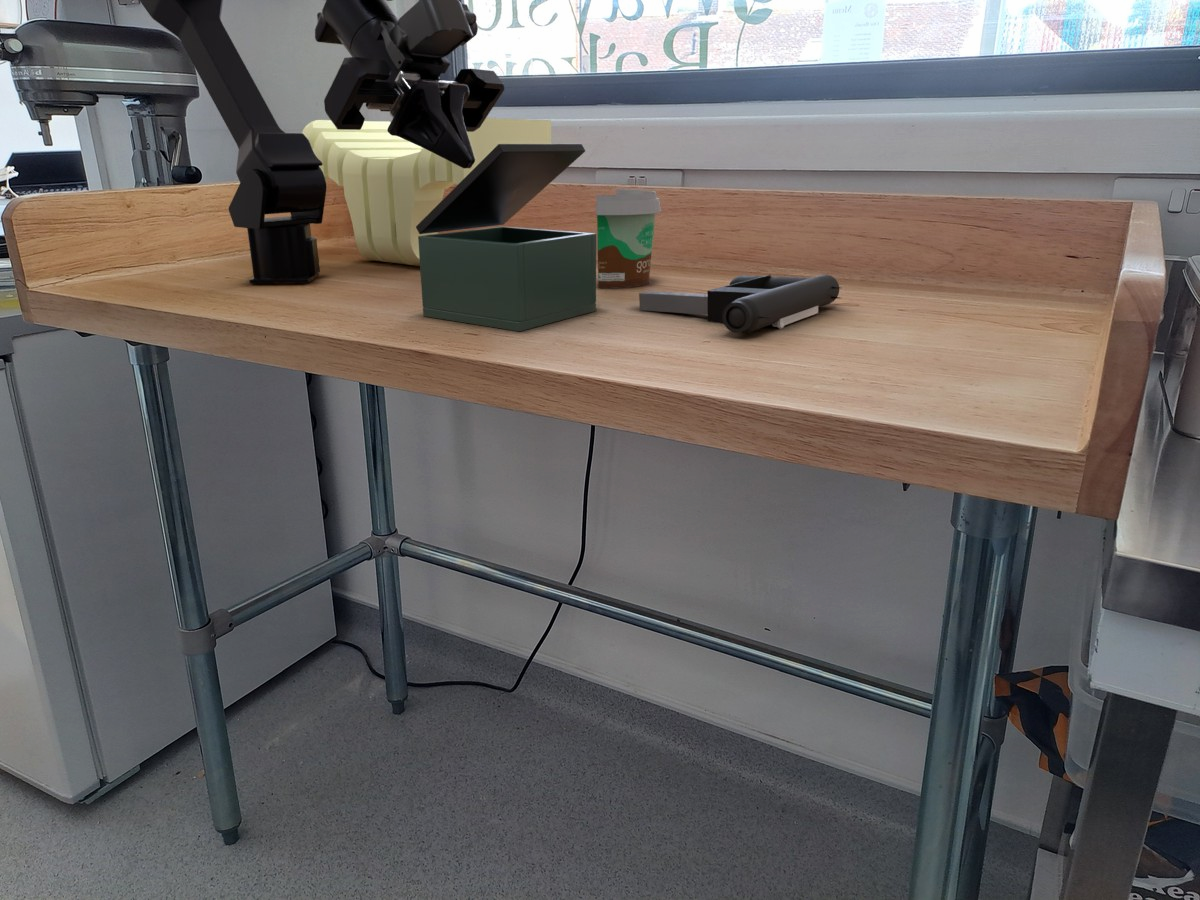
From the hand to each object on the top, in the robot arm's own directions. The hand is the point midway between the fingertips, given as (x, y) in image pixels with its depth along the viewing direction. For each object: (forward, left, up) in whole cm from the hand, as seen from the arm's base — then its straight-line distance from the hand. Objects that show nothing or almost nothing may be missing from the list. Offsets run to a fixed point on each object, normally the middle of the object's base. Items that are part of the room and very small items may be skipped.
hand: (470, 164), depth 79 cm
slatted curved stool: (-8, +36, -13) cm, 39 cm away
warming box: (+3, -3, -13) cm, 14 cm away
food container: (+17, +15, -13) cm, 27 cm away
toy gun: (+24, -4, -14) cm, 28 cm away
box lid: (+3, -3, -2) cm, 5 cm away
